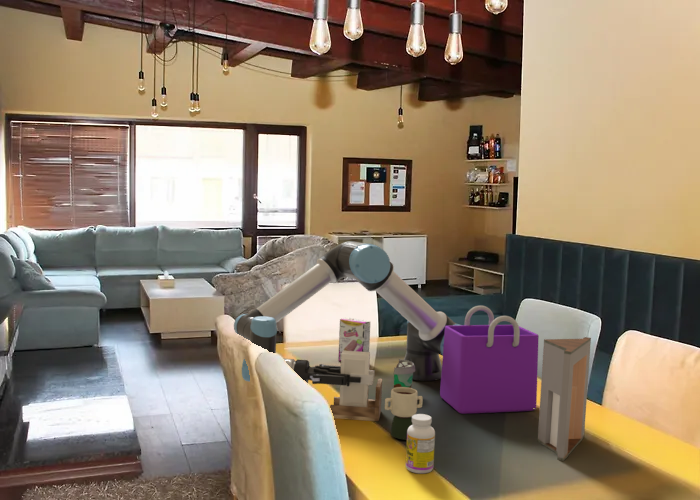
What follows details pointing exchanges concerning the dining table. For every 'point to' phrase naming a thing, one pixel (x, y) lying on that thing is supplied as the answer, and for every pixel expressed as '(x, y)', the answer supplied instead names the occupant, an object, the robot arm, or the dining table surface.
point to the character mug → (402, 409)
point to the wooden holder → (360, 408)
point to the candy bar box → (354, 335)
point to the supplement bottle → (420, 445)
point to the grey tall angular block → (563, 394)
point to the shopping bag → (489, 366)
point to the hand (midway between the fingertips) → (373, 377)
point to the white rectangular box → (354, 365)
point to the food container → (403, 373)
